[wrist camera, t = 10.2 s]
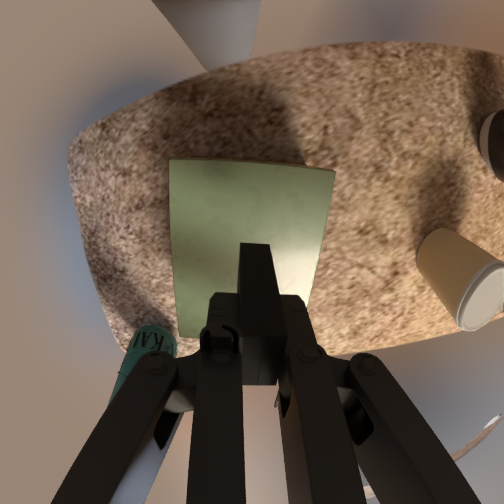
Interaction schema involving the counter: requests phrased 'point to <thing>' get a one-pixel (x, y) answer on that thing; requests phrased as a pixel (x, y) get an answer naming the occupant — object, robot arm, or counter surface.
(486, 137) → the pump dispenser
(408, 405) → the robot arm
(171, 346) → the beverage bottle
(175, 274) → the lid
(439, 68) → the counter surface
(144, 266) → the counter surface
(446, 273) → the coffee cup
